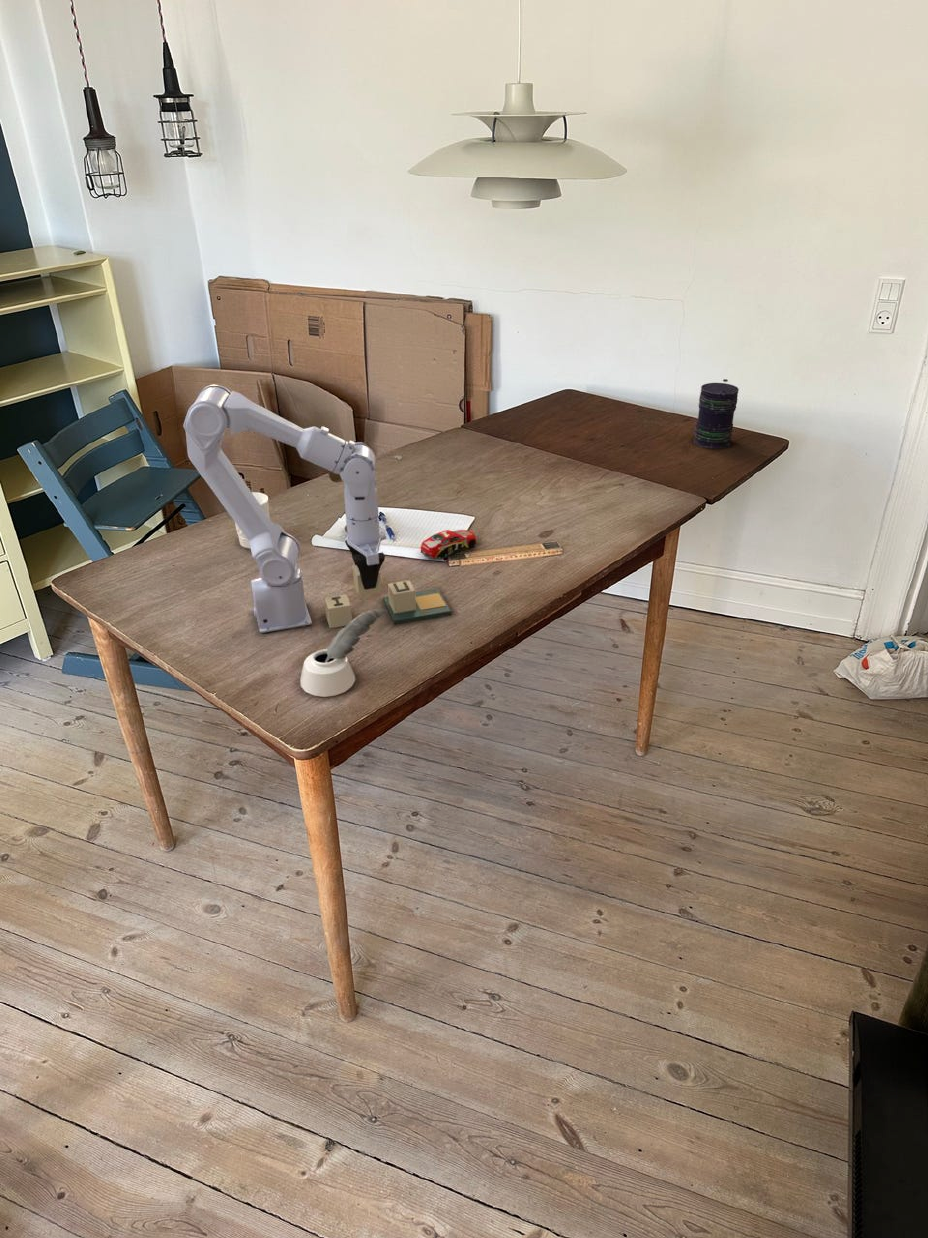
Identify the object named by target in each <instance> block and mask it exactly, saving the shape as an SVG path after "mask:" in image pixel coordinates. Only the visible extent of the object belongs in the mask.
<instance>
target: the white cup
mask: <svg viewBox="0 0 928 1238" xmlns="http://www.w3.org/2000/svg"><path fill="white" fill-rule="evenodd" d="M251 492H252V494H253V495H254V497H255V498H256V499H257V501H258V502H259V504H260V505H261V507H262V508H263V509H264V511H265V512H266V514H267V515H268V517H269V518H270V519H271V517H270V516H271V515H270V503H269V496H268V495H266V494H265V493H264V492H263V493H262V492H258V491H256V492H255V491H251ZM233 522H234V526H235V531H236V533H237V536H238V542H239V546H241V547H243V548H245V549H250V550H251V547H250V543H249V540H248V539H247V538H246V536H245V535H244V534H243V532H242V531H241V529H240V528H239V527H238V525H237V524H236V523H235V521H234V520H233Z"/></svg>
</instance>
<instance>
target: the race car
mask: <svg viewBox="0 0 928 1238" xmlns="http://www.w3.org/2000/svg"><path fill="white" fill-rule="evenodd" d="M476 544H477V536H476V533H474V532H473V531H471V530H468V529H457V530H449V529H445V530H442V531H439V532H437V533H435V534H433V535H431V536H429V537H428V538H426V539H424V540H423V541H422V542H421V544H420V554H422V555H424V556H426V557H427V558H430V559H445V558H446V556H449V555H452V554H454V553H457V552H460V551H462V550H466V549H468V548H469V549H473V548H474V547H475V546H476Z"/></svg>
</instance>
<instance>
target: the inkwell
mask: <svg viewBox="0 0 928 1238" xmlns="http://www.w3.org/2000/svg"><path fill="white" fill-rule="evenodd" d="M386 613H389V611H388V609H386V608H375V609H371V610H368V611H364V612H362V613H360V614H359V615H357V616H356V617H354V618H352V620H351V621H350V622H349V623H348V624H347V625H346V626H344V628H341V629H340V630H339V631H338V632H337V634H336V635H335V636H333V638H332V640H331V643H330V644H329V645H328V646H327V648H324V649H319V650H317V651H314V652H312V653H311V654H309V655H308V656H307V657H306V658H305V660H304V661H303V665H302V669H301V674H300V679H299V681H300V687H301V688H302V690H303V691H304V692H305V693H307V694H309V695H311V696H314V697H321V698H327V697H335V696H338V695H341V694H343V693H346V692H347V691H348V690H350V689H351V688H352V687H353V686H354V683H355V681H356V676H355V675H356V674H355V672H354V670H353V666H352V665H351V662H350V660H349V658H348V654H350V653H351V652H353V651H354V650H355V647H354V646H356V645H357V644H358V643H359V642H360V640H361V636H363V635H364V634H365V635H366V634H367V632H368V631H369V630H371V626H372V625H374V624H375V623H376V622H377V620H378V619H379V618H381V617H382V616H383V615H385V614H386Z"/></svg>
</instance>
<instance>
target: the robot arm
mask: <svg viewBox="0 0 928 1238" xmlns="http://www.w3.org/2000/svg"><path fill="white" fill-rule="evenodd" d="M182 427H183V430H184V431H185V440H186V451H187V457H188V459H189V460H190V462H191V463H192V465H193V466H194V467H195V469H196V471H197V472H198V474H199V475H200V476H201V477H202V478H203V480H204V481H205V483H206V484H207V485H208V487H209V488H210V490H211V491H212V492H213V494H214V495H215V496H216V498H217V499H218V500H219V502H220V504H221V505H222V506H223V507H224V509H225V510H226V512H227V513H228V515H229V516H230V517H231V518H232V520H233V522H234V521H235V522H234V524H235V523H236V524H237V525H238V527H239V528H240V529H241V531H242V532H243V534H244V535H245V536H246V538H247V539H248V540H249V543H250V547H251V549H250V552H251V556H252V559H253V560H254V561H255V563H256V565H257V568H258V574H259V577H258V578H257V577H256V578H254V579H251V580H250V586H251V591H252V599H253V604H254V607H253V614H254V618H256V622H257V625H258V630H259V632H260V634H265V633H271V632H276V631H282V630H288V629H294V628H299V627H300V628H301V627H305V626H311V625H312V624H313V621H312V619H311V615H310V612H309V609H308V606H307V603H306V598H305V589H304V580H303V571H302V569H301V568H300V566H299V565H298V563H297V562H298V559H299V556H300V553H301V546H300V543H299V541H298V540H297V538H295V536H293V535H292V534H290V533H288V532H287V531H286V530H284V529H283V527H282V525H281V524H278V523H276V522H273V521H272V520H271V517H270V518H269V517H268V515H267V514H266V512H265V511H264V509H263V508H262V507H261V505H260V504H259V502H258V501H257V499H256V498H255V497H254V495H253V494H252V492H253V491H251V489H250V488H249V487H248V485H247V484H246V482H245V481H244V479H243V478H242V476H241V475H240V474H239V472H238V471H237V469H236V468H235V467H234V465H233V464H232V462H231V461H230V459H229V458H228V457H227V455H226V454H225V452H224V450H223V449H222V445H223V440H224V436H225V433H226V430H227V429H229V435H230V436H231V435H237V434H240V433H243V432H247V431H252V432H254V433H255V432H256V433H258V434H261V435H263V436H265V437H268V438H271V439H273V440H275V441H278V442H281V443H283V444H286V445H288V446H291V447H294V448H295V449H296V451H297V453H298V455H299V457H300V458H301V459H303V460H304V461H307V462H310V463H312V464H313V465H316V466H318V467H320V468H323V469H325V470H326V471H328V470H329V471H331V472H333V473H336V474H340V476H341V479H342V480H343V481H342V482H343V483H344V491H343V497H344V499H343V500H344V512H345V511H346V514H345V522H346V525H347V532H346V534H347V535H346V540H345V541H344V543H345V546H346V547H347V549H348V550H349V552H350V553H351V558H352V561H353V563H354V565H357V567H358V569H359V572H360V576H361V580H362V584H363V587H364V589H365V590H366V589H372V588H376V584H377V579H378V574H379V571H380V569H381V568H382V565H383V563H384V562H385V559H386V556H385V553H384V552H383V551H382V552H379V550H380V545H381V542H382V541H384V540H385V541H386V540H387V537H388V536H387V534H386V532H385V531H380V519H379V501H378V500H379V499H378V489H377V480H376V475H377V472H376V465H377V459H376V454H375V452H374V451H373V449H372V448H371V447H369V445H367V444H365V443H364V442H359V441H357V442H354V440H349V441H347V440H345V439H342V438H340V437H339V436H337V435H334V434H332V433H331V432H329V431H330V429H329V428H327V427H325V426H324V425H323V426H321V427H320V428H319V427H317V426H310V427H307V428H306V427H305V428H303V427H301V426H299V425H297V424H295V423H293V422H292V421H289V420H288V419H286V418H284V417H281V416H280V415H278V414H276V413H274V412H272V411H270V410H269V409H267V408H265V407H263V406H261V405H259V404H257V403H255V402H254V401H252V400H251V399H249V398H247V397H246V396H245V395H243V394H242V393H241V392H237V391H234V390H232V391H230V389H228V388H227V387H225V386H223V385H220V384H210V385H207V386H205V387H203V388H202V389H201V390H200V392H199V394H198V395H197V398H196V399H195V401H194V403H193V404H192V405H191V406H190V407H189V408H188V410H187V413H186V416H185V418H184V422H183V425H182Z"/></svg>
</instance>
